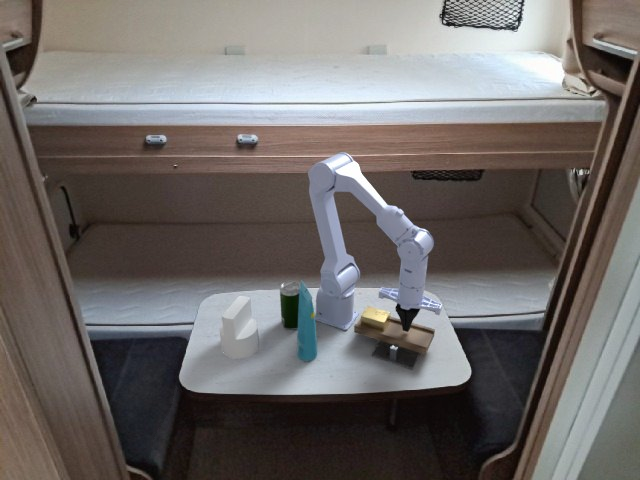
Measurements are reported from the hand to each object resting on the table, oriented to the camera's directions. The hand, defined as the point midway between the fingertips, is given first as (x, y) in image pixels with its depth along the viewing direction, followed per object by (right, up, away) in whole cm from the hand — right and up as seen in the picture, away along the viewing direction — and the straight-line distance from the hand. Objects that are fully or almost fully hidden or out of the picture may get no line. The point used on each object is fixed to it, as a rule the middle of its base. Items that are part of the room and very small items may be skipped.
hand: (406, 328), depth 113 cm
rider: (-7, 0, +4) cm, 8 cm away
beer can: (-28, -1, +11) cm, 30 cm away
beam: (-3, -2, +3) cm, 5 cm away
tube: (-24, -6, +1) cm, 25 cm away
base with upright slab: (-40, -5, +3) cm, 41 cm away
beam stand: (-1, -5, +3) cm, 6 cm away
